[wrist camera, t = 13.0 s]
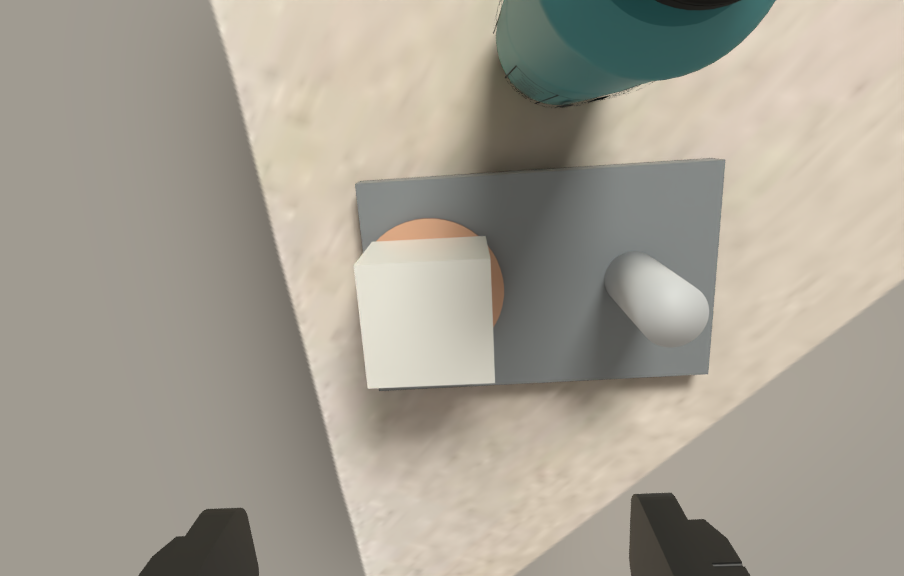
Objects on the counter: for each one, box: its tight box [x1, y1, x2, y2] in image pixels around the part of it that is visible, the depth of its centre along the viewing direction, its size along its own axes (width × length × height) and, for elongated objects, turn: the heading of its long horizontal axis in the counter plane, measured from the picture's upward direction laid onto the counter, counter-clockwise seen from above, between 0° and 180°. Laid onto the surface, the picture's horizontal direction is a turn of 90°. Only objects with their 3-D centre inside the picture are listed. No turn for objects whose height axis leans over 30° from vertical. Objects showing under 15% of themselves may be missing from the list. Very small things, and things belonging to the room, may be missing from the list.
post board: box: [355, 158, 725, 391], centre depth 27 cm, size 19×12×8 cm, turn 94°
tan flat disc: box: [376, 218, 504, 327], centre depth 29 cm, size 8×8×1 cm
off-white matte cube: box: [354, 236, 495, 389], centre depth 27 cm, size 6×6×5 cm
